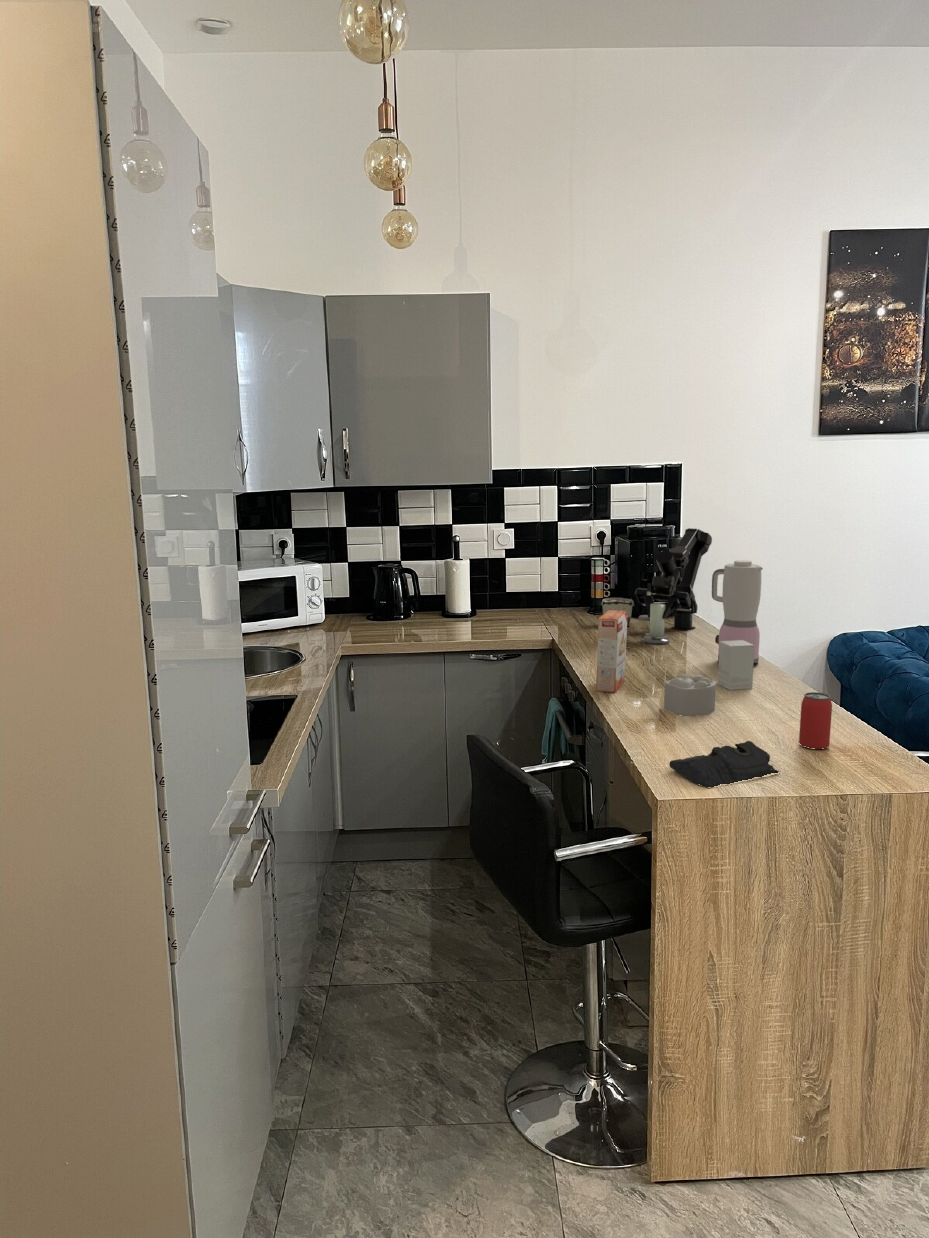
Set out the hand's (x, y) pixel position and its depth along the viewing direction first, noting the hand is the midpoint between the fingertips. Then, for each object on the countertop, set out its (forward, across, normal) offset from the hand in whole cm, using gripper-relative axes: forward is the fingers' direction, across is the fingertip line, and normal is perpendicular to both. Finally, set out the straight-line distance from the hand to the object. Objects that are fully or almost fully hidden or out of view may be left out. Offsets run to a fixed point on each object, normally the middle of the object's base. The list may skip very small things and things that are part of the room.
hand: (655, 617), depth 324 cm
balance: (+1, -4, +11) cm, 12 cm away
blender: (+17, +31, -4) cm, 36 cm away
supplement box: (+37, +40, -24) cm, 60 cm away
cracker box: (+50, +11, -38) cm, 63 cm away
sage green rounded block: (+4, 0, +6) cm, 7 cm away
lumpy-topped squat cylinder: (+57, +38, -45) cm, 82 cm away
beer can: (+67, +71, -55) cm, 112 cm away
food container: (-9, -23, +21) cm, 33 cm away
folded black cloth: (+86, +59, -74) cm, 127 cm away
